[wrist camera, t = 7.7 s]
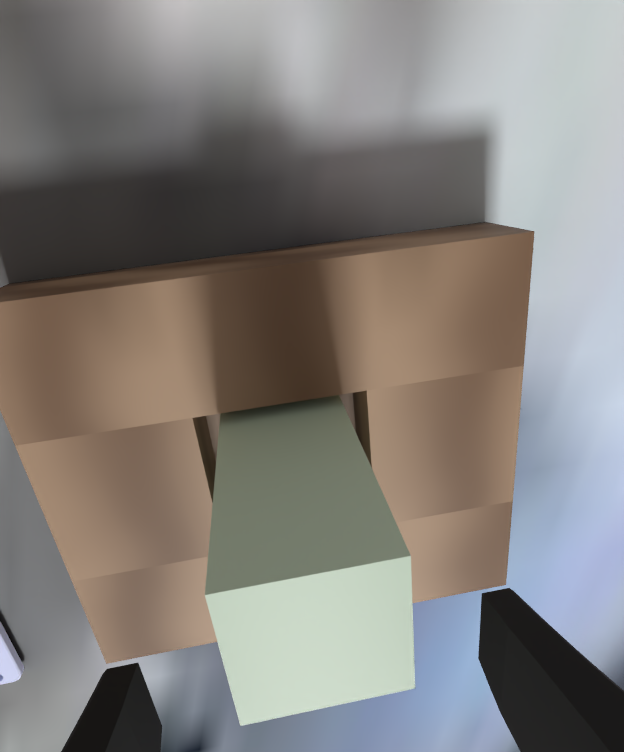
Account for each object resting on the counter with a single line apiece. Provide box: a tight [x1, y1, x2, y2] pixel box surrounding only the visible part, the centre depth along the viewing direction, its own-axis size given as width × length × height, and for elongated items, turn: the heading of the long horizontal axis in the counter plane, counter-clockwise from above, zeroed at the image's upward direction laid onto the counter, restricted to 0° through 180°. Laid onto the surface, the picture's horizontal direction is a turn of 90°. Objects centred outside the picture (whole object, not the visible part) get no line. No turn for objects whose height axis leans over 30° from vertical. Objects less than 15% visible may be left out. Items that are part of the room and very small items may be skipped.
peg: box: [205, 395, 415, 726], centre depth 14 cm, size 4×4×9 cm
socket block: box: [0, 222, 534, 664], centre depth 17 cm, size 16×14×3 cm
